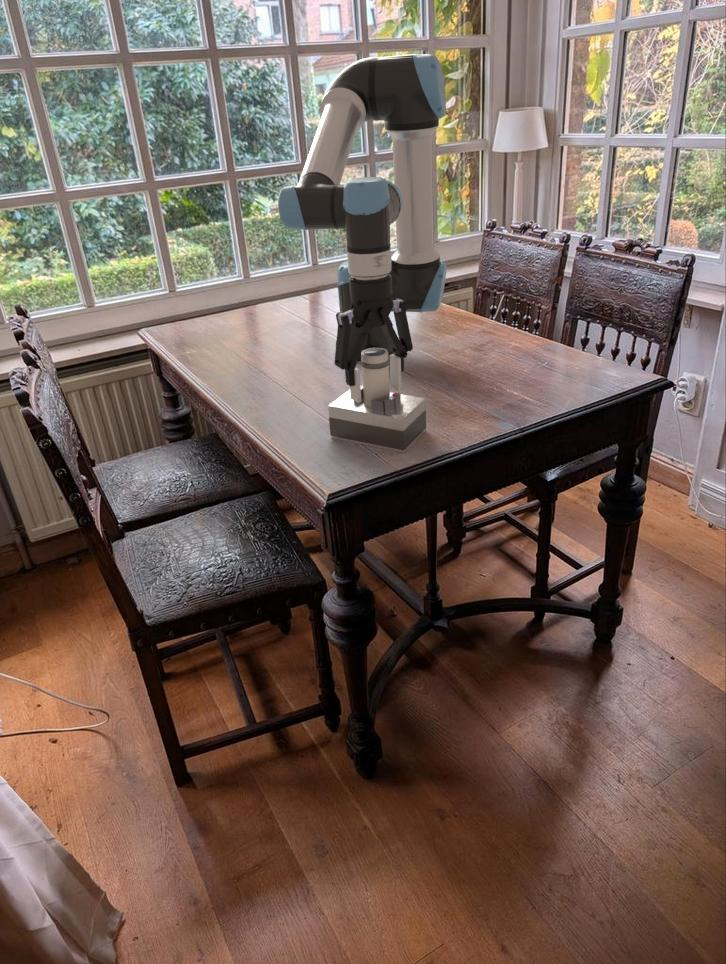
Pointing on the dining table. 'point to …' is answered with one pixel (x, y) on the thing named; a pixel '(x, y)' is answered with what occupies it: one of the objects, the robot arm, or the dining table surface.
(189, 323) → the dining table surface
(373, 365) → the lens
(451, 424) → the dining table surface
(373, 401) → the two-tone block with arcs
